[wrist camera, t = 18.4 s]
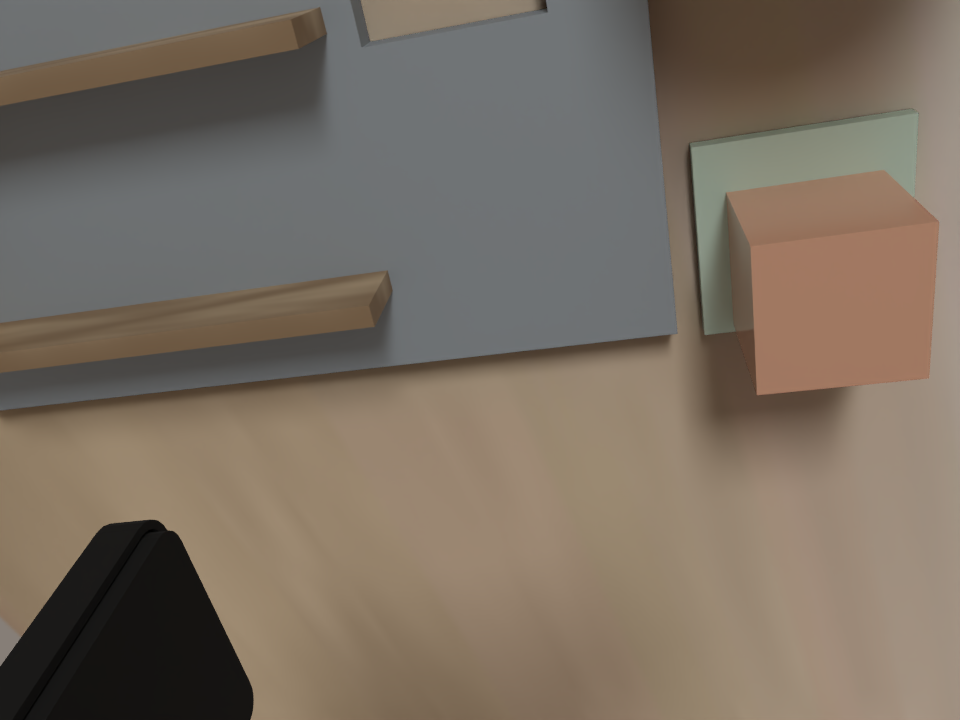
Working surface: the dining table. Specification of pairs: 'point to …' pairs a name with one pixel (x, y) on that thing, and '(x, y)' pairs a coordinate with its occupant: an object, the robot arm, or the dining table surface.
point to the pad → (785, 181)
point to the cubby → (198, 316)
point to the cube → (832, 282)
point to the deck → (338, 186)
